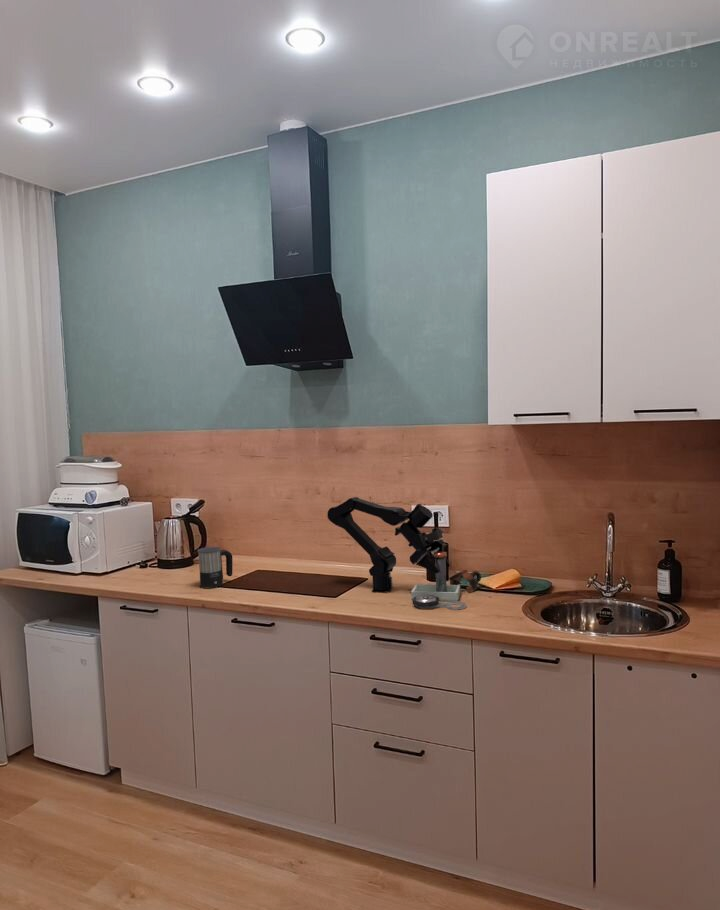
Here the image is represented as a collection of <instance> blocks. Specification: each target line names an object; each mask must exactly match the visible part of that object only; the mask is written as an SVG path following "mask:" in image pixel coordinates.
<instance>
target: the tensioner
mask: <svg viewBox="0 0 720 910" xmlns="http://www.w3.org/2000/svg"><path fill="white" fill-rule="evenodd" d="M411 601H412V605H414V606H415V608H418V609H423V610H428V609H434V608H445V609H447V610H452V611H455V610H457V611H460V610H463V609H466V608H467V603H466V602H463V601H459V600H458V601H447V602H440V601H439V597H436V596H433V595H421V596H417V597H414V598H413V600H411ZM452 605H459V606H452Z"/></svg>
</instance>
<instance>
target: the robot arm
mask: <svg viewBox="0 0 720 910" xmlns="http://www.w3.org/2000/svg"><path fill="white" fill-rule="evenodd" d="M355 510H356V511H357V512H358V511H359V512H362V513H365V514H367V515H371V516H373V517H374V516H375V517H376V518H380V519H381V520H382V521H383V522H384V523H385V524H388V525H390V526H393V527H394V526H397V525H400V524H401V525H400V526H398V527H395V528H394V530H395V532H394V536H399V535H402V536H403V537H404V539H405V540H406V541H407V542H408V547H409V548H411V547H412V548H413V550H415V551H414V552H413V553H412V554H411V555H410V556H409V561H410V563H411V565H413V566H414V565H415V566H419V567H422V568H423V569H427V570H429V571H431V572H433V573H435V574H436V573H438V572H439V570H438V568H437V567H436V566H435V563H434V561H433V560H432V559H434V560H435V557H434V552H437V551H444V552H445V548H446V546H445V545H446V542H445V541H444V540H443V538H444V537H443V530H441V528H439V527H438V526H437V527H434V528H432V529H431V532H429V533H426V532H424V531H422V532H421V530H420V529H419V528H421V529H422V528H424V527H425V526H426V525H427V523H428V522H430V520H431V519H432V518H433V516H434V515H433V513H432V511H431V509H430V508H427V507H426V506H424V505H422V504H421V503H418V504H416V505H415V507H414V508H413V510H411V511H407V510H406V509H405V508H403V507H400V506H399V507H398V506H385V505H382V504H378V503H374V502H372V501H368V500H365V499H363V498H359V497H357V496H352V497H350V498H348V499H347V500H345V501H344V502H342V503H340V504H339V505H337V506H332V507H330V508H329V509H328V510H327V516H326V517H327V519H328V520H329V522H331V523H332V524H333V525H335V526H337V527H339V528H341V529H343V530H344V531H345V532H346V533H348V535H349V536H351V538H352V539H353V540H354V541H355V542H356V543H357V544H358V545H359V546H360V547H361V548H362V549H363V550H364V551H365V552H366V553H367V554H368V555H369V558H370V561H371V563H372V566H371V567H370V568H369V569H368V571H369V575H370V576H372V577H371V578H372V590H371V592H373V593H390V591H391V590H392V589H393V588H394V587H393V577H392V575H391V573H392V572H393V570H394V567H395V566H397V558H396V555H395V553H394V551H391V549H390V548H389V547H388V546H384V547H381V546H380V545H378V544H377V543H376V542H375V541H374V540H373V539H372V537H370V535H368V533H366V532H365V530H363V529H362V528H361V527H360V525H358V523H357V522H355V520H354V519H353V515H352V512H354V511H355ZM445 559H446V568H450V566H451V564H450V563H449V559H448V558H447V556H446V557H445Z"/></svg>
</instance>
